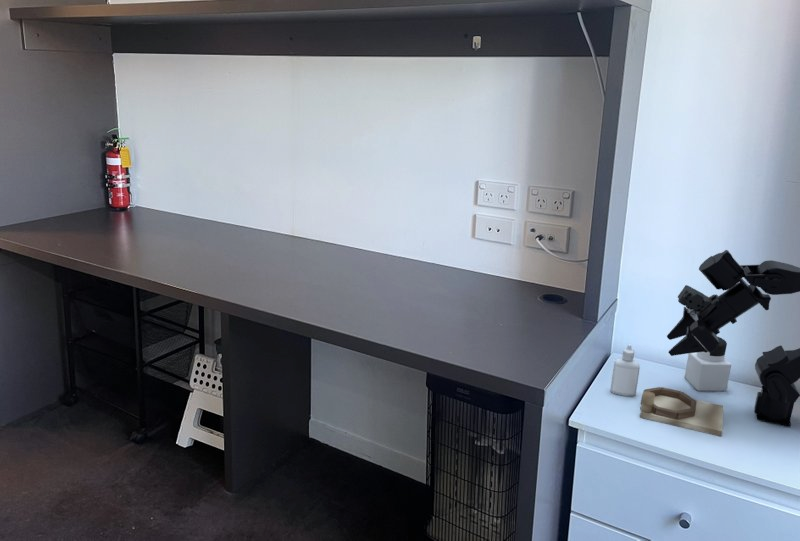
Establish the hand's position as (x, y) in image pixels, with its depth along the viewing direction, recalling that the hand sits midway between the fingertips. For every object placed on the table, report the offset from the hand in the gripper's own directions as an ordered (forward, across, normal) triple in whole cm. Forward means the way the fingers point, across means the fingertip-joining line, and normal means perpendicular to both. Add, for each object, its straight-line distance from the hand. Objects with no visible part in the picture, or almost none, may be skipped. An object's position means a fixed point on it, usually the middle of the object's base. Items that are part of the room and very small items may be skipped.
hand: (668, 345), depth 148 cm
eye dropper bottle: (+15, 0, +3) cm, 16 cm away
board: (+7, +6, +12) cm, 15 cm away
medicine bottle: (+3, -12, +17) cm, 21 cm away
